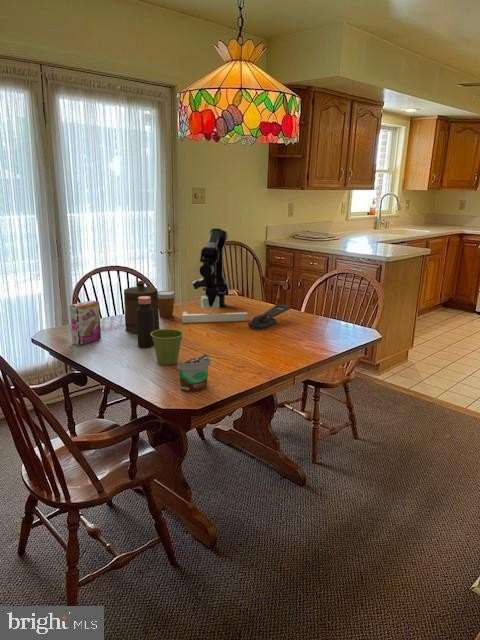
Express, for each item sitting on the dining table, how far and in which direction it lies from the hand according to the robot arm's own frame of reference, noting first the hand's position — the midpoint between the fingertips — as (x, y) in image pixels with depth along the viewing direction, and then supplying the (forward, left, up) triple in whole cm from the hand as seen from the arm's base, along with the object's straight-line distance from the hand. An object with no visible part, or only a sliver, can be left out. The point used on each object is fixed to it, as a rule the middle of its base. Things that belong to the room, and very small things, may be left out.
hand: (210, 305), depth 233 cm
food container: (+82, -13, -7) cm, 83 cm away
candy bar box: (+29, -54, -7) cm, 62 cm away
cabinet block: (0, 0, -1) cm, 1 cm away
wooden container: (+14, -32, -7) cm, 36 cm away
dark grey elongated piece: (+12, +27, -7) cm, 30 cm away
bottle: (+37, -30, -7) cm, 48 cm away
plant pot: (+57, -22, -7) cm, 61 cm away
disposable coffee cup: (-6, -21, -7) cm, 23 cm away
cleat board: (+1, +2, -7) cm, 7 cm away
